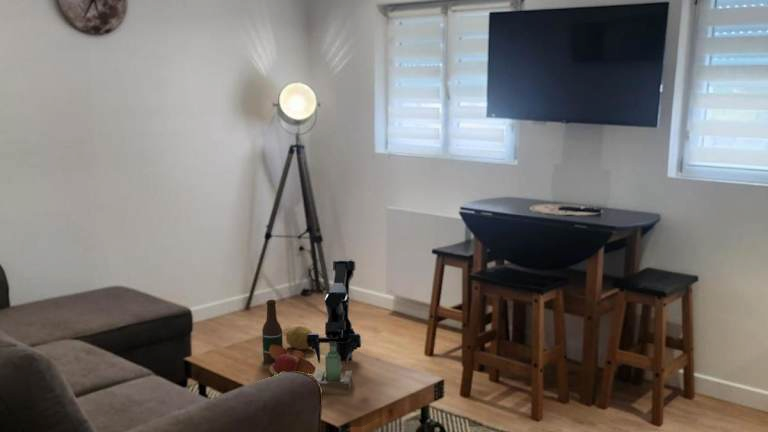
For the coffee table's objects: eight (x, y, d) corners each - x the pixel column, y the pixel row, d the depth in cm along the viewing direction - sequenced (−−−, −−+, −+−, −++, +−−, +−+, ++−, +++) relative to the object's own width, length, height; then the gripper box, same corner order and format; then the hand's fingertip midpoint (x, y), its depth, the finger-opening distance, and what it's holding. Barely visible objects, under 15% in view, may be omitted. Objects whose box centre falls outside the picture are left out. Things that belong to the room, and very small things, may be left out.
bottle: (330, 380, 251) (329, 339, 248) (343, 382, 248) (342, 341, 246) (323, 385, 246) (322, 343, 244) (336, 387, 244) (335, 345, 242)
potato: (299, 320, 295) (281, 323, 289) (320, 328, 286) (302, 332, 280) (297, 342, 296) (279, 346, 290) (318, 351, 287) (301, 355, 281)
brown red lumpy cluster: (270, 360, 271) (253, 364, 257) (280, 339, 271) (263, 342, 256) (314, 384, 266) (299, 390, 251) (324, 362, 265) (309, 367, 251)
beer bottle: (285, 357, 278) (283, 298, 275) (280, 364, 271) (278, 303, 267) (265, 357, 279) (263, 297, 275) (260, 364, 271) (258, 303, 268)
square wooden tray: (318, 381, 253) (318, 370, 253) (352, 381, 253) (352, 370, 252) (313, 394, 242) (313, 383, 241) (348, 394, 241) (348, 383, 240)
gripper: (306, 311, 248) (302, 352, 238) (359, 311, 247) (357, 352, 237) (310, 326, 257) (306, 366, 247) (362, 326, 256) (359, 367, 246)
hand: (332, 362), depth 244 cm, fingers open, 9 cm apart
